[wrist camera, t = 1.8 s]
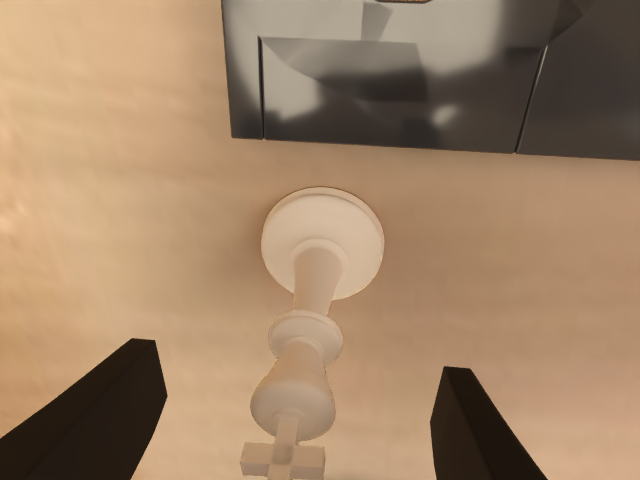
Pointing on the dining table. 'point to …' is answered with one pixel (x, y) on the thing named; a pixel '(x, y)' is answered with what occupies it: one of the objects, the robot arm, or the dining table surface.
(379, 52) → the dark grey flat block
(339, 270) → the chess piece
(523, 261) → the dining table surface
